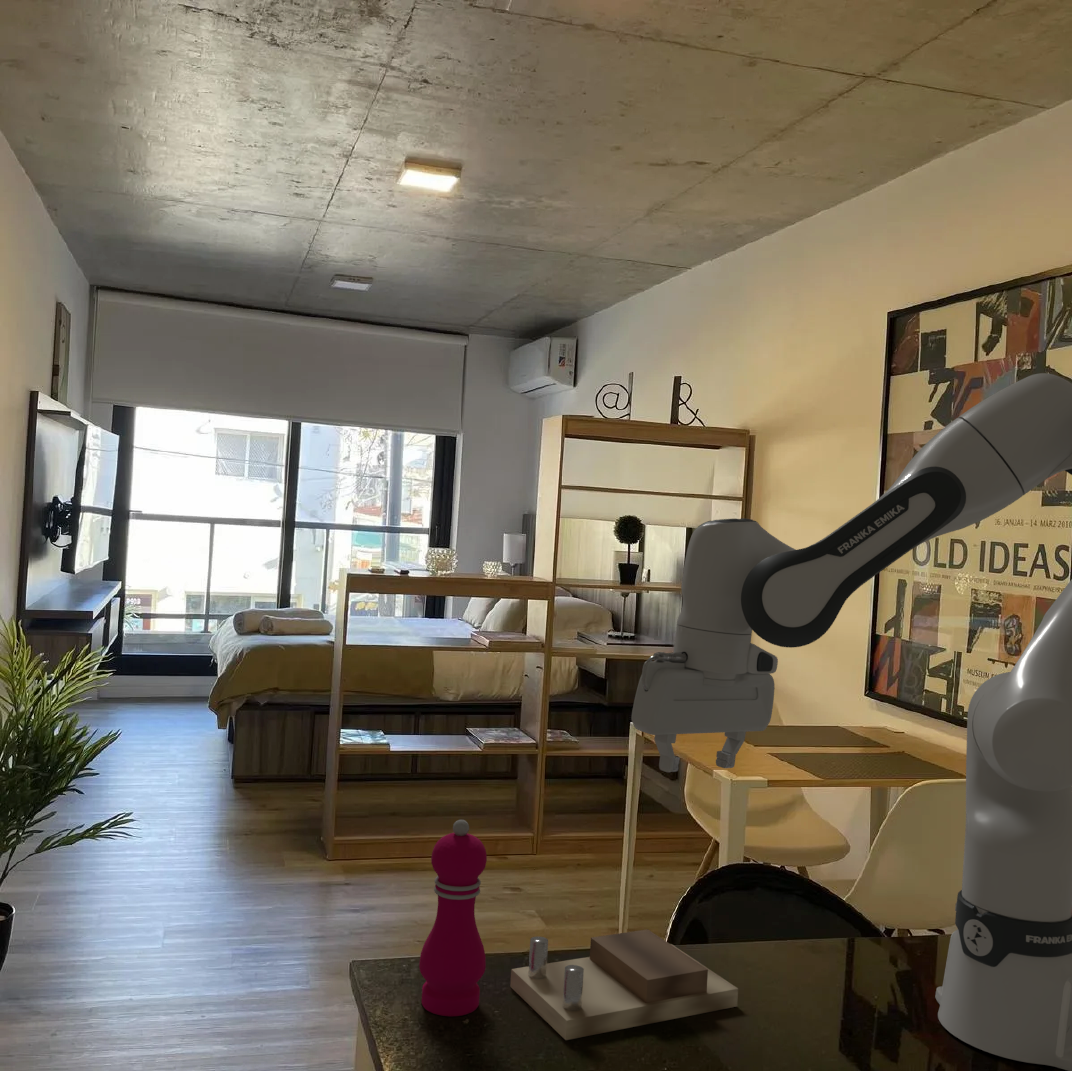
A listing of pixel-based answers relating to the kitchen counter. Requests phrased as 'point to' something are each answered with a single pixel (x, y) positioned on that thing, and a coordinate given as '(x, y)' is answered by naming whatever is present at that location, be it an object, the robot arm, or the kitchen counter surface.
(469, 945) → the pepper mill
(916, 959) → the kitchen counter surface
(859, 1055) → the kitchen counter surface
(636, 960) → the walnut plate
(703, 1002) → the board
